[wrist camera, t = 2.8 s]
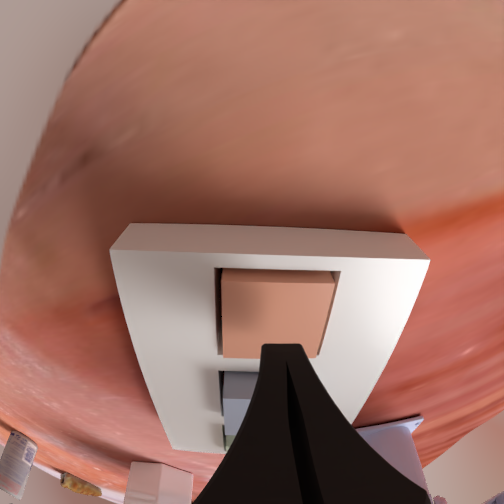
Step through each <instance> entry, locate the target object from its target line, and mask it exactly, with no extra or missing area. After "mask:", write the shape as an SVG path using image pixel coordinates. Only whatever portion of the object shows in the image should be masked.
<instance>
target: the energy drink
mask: <svg viewBox="0 0 504 504" xmlns="http://www.w3.org/2000/svg"><path fill="white" fill-rule="evenodd" d="M37 449H38V447H37V444H36V443H35V442H34V441H32V440H31V439H30V438H28V437H27V436H25V435H24V434H22V433H20V432H18V431H15V430H14V431H11V434H10V436H9V439H8V441H7V444H6V446H5V449H4V451H3V454H2V457H1V459H0V489H2V490H3V491H5V492H6V493H8V494H10V495H12V496H13V497H15V498H17V499H18V500H20V499H21V498H22V496H23V492H24V489H25V485H26V482H27V479H28V476H29V472H30V469H31V466H32V463H33V461H34V458H35V455H36V452H37Z"/></svg>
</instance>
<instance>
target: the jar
mask: <svg viewBox="0 0 504 504" xmlns="http://www.w3.org/2000/svg"><path fill="white" fill-rule="evenodd" d="M192 486H193V474H192V473H189V472H186V471H183V470H180V469H177V468H174V467H171V466H168V465H166V464H163V463H149V462H136V461H132V462H131V467H130V472H129V477H128V482H127V487H126V493H125V498H124V504H191V498H192Z"/></svg>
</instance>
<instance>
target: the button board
mask: <svg viewBox="0 0 504 504" xmlns="http://www.w3.org/2000/svg"><path fill="white" fill-rule="evenodd" d="M109 251H110V256H111V261H112V266H113V271H114V275H115V280H116V284H117V288H118V292H119V296H120V300H121V304H122V308H123V312H124V315H125V319H126V323H127V326H128V330H129V333H130V336H131V340H132V343H133V346H134V349H135V353H136V356H137V359H138V362H139V365H140V368H141V371H142V374H143V376H144V379H145V382H146V385H147V387H148V390H149V393H150V396H151V398H152V401H153V403H154V406H155V408H156V411H157V413H158V416H159V418H160V421H161V423H162V425H163V428H164V430H165V432H166V435H167V437H168V439H169V441H170V443H171V446H172V448H173V449H176V450H184V451H194V452H206V453H222V454H226V435H225V425H224V409H223V389H224V385H223V371H248V372H259V365H260V359H243V358H223V336H222V320H221V308H220V268H247V269H281V270H323V271H330V273H331V275H332V277H333V280H334V282H335V286H334V290H333V294H332V299H331V303H330V307H329V311H328V315H327V319H326V322H325V326H324V330H323V334H322V337H321V341H320V345H319V348H318V352H317V355H316V358H308V359H309V361H310V363H311V365H312V366H313V368H314V370H315V372H316V374H317V375H318V377H319V379H320V381H321V382H322V384H323V385H324V387H325V389H326V390H327V392H328V393H329V395H330V396H331V398H332V399H333V401H334V402H335V404H336V405H337V407H338V408H339V409H340V411H341V412H342V414H343V415H344V416H345V417H346V419H347V420H348V421H349V423H350V424H352V423H353V421H354V419H355V418H356V416H357V415H358V413H359V411H360V410H361V408H362V407H363V405H364V403H365V402H366V400H367V398H368V396H369V395H370V393H371V391H372V389H373V388H374V386H375V384H376V382H377V381H378V379H379V377H380V375H381V373H382V371H383V369H384V367H385V366H386V364H387V362H388V360H389V358H390V356H391V354H392V352H393V350H394V348H395V346H396V344H397V341H398V339H399V337H400V335H401V333H402V331H403V329H404V326H405V324H406V322H407V320H408V317H409V315H410V313H411V310H412V308H413V305H414V303H415V300H416V298H417V295H418V293H419V290H420V288H421V285H422V282H423V280H424V277H425V274H426V272H427V269H428V266H429V263H430V259H429V258H428V256H427V255H426V254H425V253H424V252H423V251H422V250H421V249H420V248H419V247H418V246H417V245H416V244H415V243H414V242H413V240H412V239H411V238H410V237H409V236H408V235H407V234H400V233H385V232H370V231H353V230H335V229H315V228H294V227H270V226H243V225H209V224H160V223H130V224H129V225H128V227H127V228H126V229H125V230H124V232H123V233H122V234H121V235H120V236H119V238H118V239H117V240H116V241H115V243H114V244H113V245H112V247H111V248H110V249H109Z"/></svg>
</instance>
